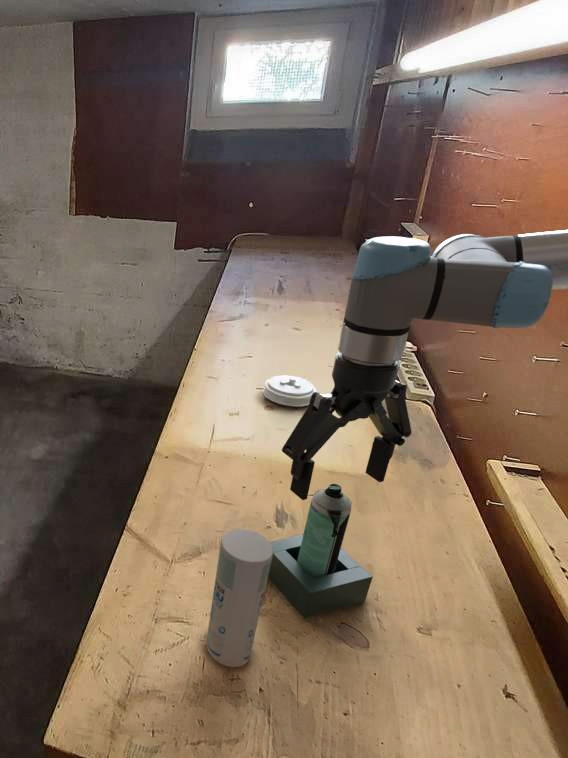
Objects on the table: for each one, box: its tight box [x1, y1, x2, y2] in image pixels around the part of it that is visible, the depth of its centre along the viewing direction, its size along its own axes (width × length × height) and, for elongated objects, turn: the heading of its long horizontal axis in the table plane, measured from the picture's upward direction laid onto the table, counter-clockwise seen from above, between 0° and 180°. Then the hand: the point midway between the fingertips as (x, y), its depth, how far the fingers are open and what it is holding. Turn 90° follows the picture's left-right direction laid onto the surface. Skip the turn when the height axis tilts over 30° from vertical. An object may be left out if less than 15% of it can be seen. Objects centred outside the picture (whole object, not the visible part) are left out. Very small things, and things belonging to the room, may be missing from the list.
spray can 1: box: [206, 528, 273, 668], centre depth 79 cm, size 6×6×20 cm
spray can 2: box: [297, 483, 353, 578], centre depth 89 cm, size 6×6×20 cm
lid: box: [263, 374, 317, 407], centre depth 151 cm, size 13×13×5 cm
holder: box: [268, 533, 374, 620], centre depth 92 cm, size 11×11×6 cm
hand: (336, 485), depth 84 cm, fingers open, 13 cm apart
